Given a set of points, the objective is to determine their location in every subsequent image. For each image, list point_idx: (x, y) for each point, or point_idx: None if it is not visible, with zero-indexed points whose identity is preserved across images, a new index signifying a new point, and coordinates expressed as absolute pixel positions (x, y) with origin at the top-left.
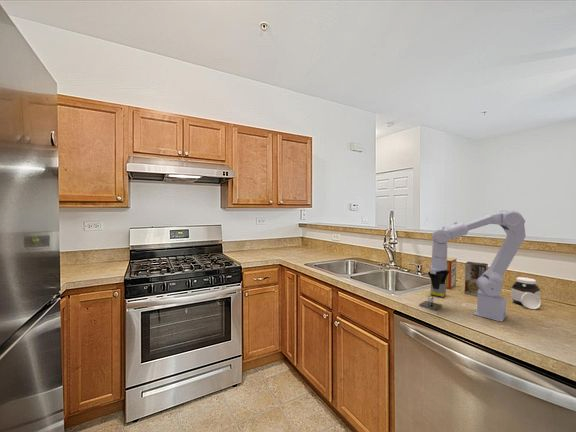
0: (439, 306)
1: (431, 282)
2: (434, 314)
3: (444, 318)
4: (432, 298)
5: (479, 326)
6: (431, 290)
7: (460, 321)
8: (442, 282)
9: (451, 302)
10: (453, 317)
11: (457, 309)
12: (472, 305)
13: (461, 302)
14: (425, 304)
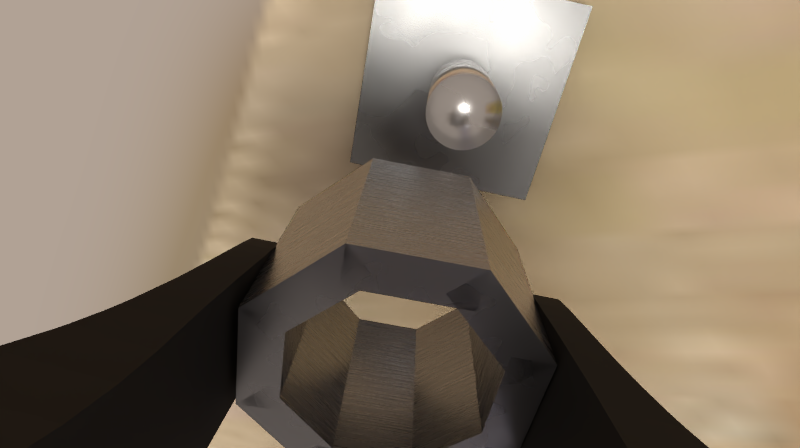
0: None
1: (332, 242)
2: (236, 158)
3: (207, 238)
4: (435, 136)
5: (244, 418)
6: (352, 174)
7: None
8: (469, 434)
9: (730, 259)
10: None
11: None
12: (713, 402)
13: (774, 333)
14: (423, 35)
